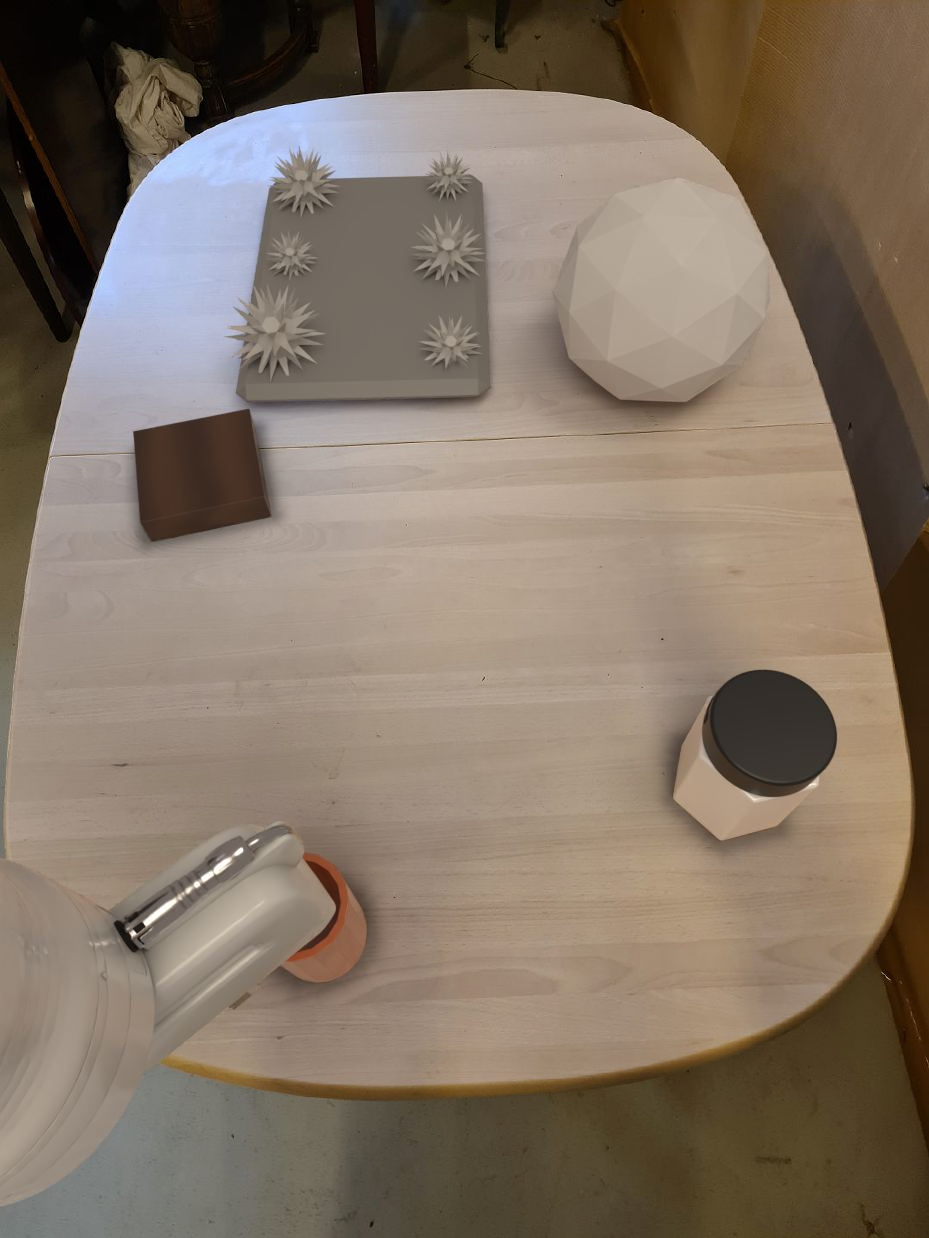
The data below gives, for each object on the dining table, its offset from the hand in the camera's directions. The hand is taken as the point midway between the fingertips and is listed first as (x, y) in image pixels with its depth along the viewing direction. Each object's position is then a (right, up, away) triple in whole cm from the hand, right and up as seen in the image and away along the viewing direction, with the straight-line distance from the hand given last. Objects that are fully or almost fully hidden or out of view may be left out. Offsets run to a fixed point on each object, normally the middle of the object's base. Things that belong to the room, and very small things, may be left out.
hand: (146, 1057), depth 37 cm
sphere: (+32, +44, +51) cm, 74 cm away
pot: (+4, -3, +24) cm, 24 cm away
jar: (+34, +6, +29) cm, 45 cm away
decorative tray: (+3, +55, +57) cm, 79 cm away
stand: (-11, +32, +44) cm, 55 cm away
